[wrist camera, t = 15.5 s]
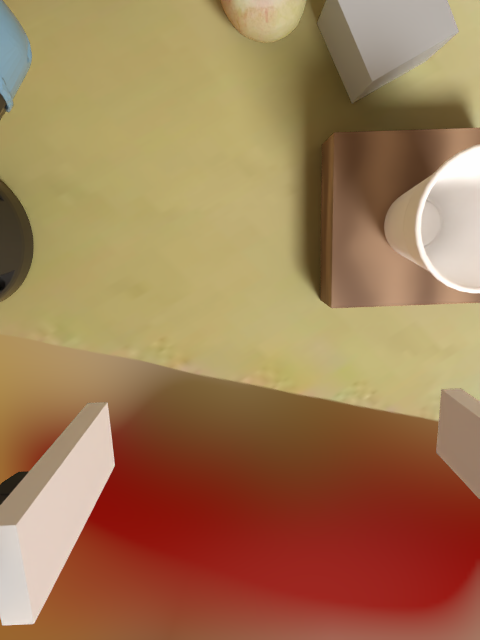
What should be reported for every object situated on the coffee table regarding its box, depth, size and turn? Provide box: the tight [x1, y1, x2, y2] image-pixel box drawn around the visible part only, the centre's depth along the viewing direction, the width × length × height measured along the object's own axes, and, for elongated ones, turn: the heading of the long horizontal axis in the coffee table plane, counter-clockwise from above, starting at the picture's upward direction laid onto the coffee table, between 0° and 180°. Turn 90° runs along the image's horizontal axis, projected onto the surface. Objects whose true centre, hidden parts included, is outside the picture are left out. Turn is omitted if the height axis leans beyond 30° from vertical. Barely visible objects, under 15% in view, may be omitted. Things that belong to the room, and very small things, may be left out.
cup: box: [384, 144, 480, 293], centre depth 32 cm, size 10×10×11 cm
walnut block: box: [320, 128, 480, 308], centre depth 39 cm, size 16×16×5 cm
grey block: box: [317, 0, 459, 103], centre depth 35 cm, size 8×8×6 cm
